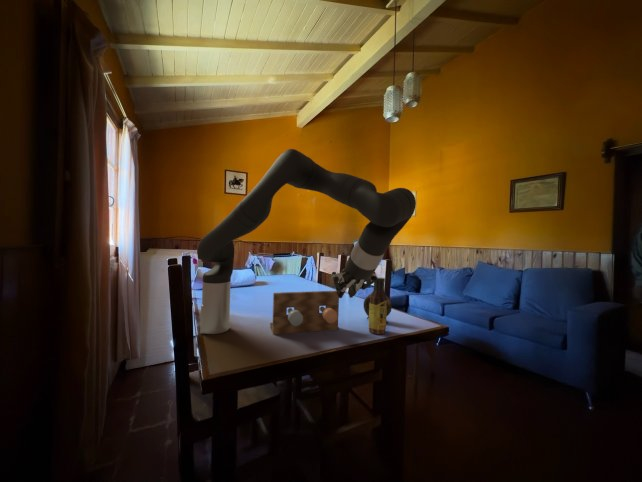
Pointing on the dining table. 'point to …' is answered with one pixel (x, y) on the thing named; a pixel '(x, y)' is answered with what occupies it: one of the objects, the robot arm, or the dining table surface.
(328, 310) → the terracotta button
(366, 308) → the alarm clock
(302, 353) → the dining table surface
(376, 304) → the sauce bottle
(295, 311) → the slate button
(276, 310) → the walnut panel
